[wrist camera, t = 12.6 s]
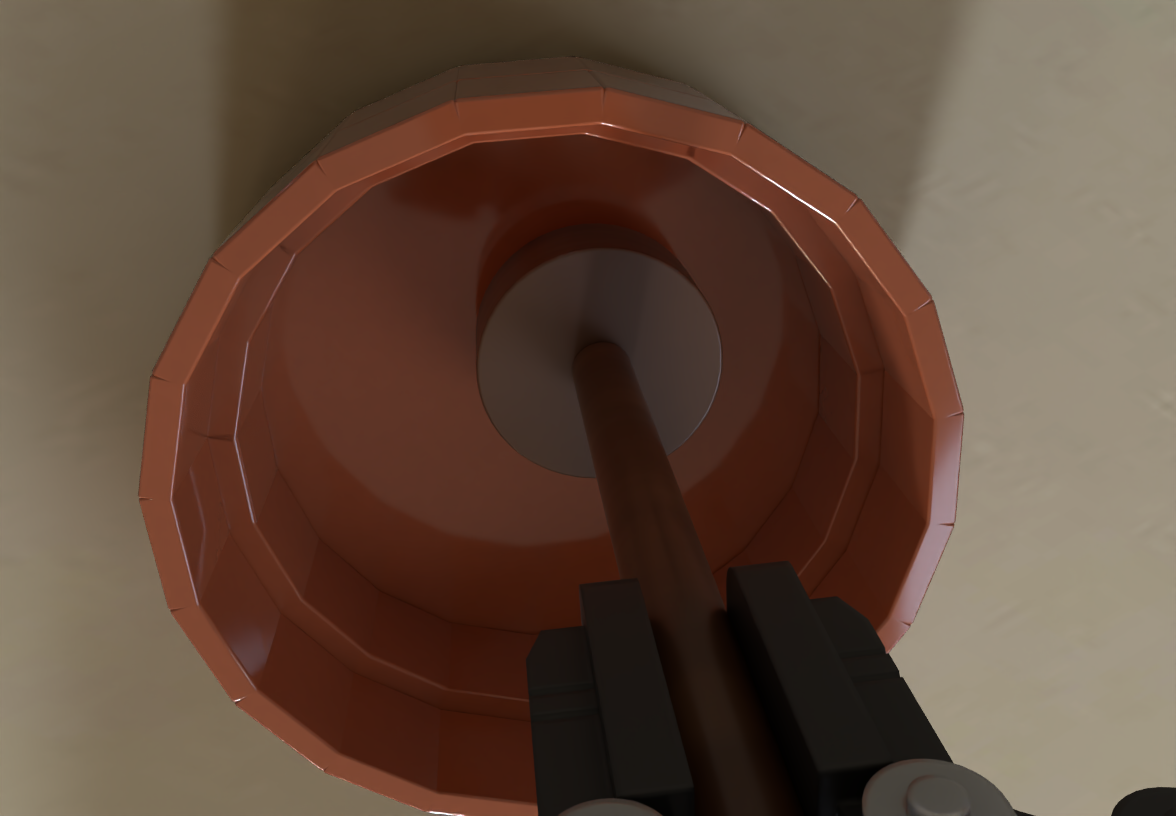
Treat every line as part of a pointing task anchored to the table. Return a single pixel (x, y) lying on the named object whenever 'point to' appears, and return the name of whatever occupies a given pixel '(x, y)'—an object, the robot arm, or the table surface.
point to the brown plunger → (634, 465)
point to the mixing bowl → (475, 448)
